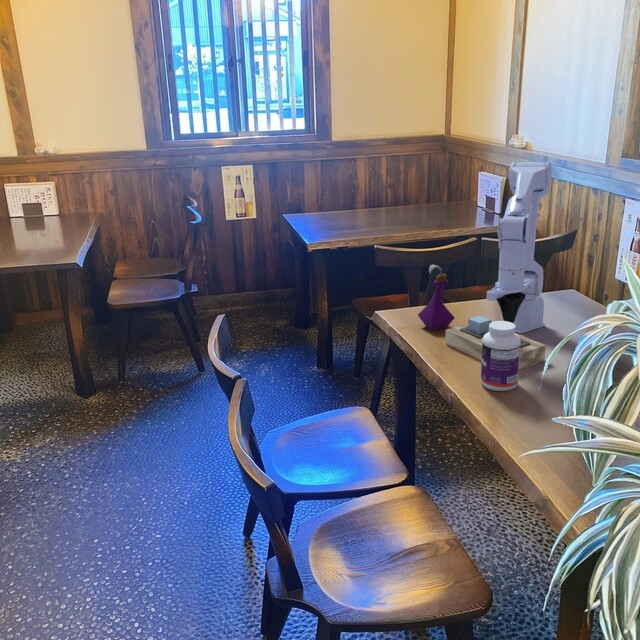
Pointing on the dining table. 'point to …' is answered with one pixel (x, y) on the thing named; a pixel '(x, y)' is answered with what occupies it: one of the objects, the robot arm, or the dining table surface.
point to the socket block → (473, 345)
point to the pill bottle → (500, 357)
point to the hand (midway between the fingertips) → (508, 322)
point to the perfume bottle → (437, 306)
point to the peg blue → (479, 324)
